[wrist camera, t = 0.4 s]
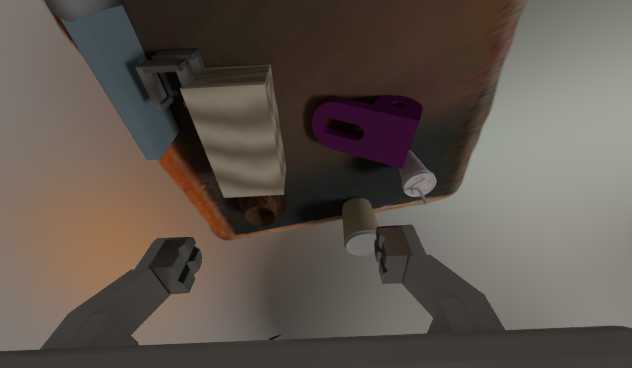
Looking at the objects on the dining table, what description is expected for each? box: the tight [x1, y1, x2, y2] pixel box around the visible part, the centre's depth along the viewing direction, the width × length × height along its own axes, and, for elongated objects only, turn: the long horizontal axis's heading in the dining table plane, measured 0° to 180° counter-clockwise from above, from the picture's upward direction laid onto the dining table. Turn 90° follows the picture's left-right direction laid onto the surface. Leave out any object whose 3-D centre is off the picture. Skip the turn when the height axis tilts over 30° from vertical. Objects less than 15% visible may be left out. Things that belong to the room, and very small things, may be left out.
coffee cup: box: [342, 198, 379, 256], centre depth 63 cm, size 9×9×12 cm
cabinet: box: [135, 48, 286, 198], centre depth 45 cm, size 25×17×9 cm
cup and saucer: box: [238, 195, 287, 227], centre depth 61 cm, size 12×12×6 cm
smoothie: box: [399, 150, 436, 205], centre depth 51 cm, size 6×6×14 cm
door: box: [45, 0, 180, 160], centre depth 38 cm, size 23×4×10 cm, turn 2°
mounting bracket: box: [312, 95, 423, 169], centre depth 48 cm, size 10×9×19 cm
